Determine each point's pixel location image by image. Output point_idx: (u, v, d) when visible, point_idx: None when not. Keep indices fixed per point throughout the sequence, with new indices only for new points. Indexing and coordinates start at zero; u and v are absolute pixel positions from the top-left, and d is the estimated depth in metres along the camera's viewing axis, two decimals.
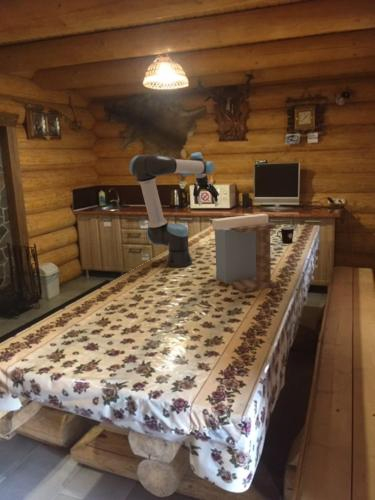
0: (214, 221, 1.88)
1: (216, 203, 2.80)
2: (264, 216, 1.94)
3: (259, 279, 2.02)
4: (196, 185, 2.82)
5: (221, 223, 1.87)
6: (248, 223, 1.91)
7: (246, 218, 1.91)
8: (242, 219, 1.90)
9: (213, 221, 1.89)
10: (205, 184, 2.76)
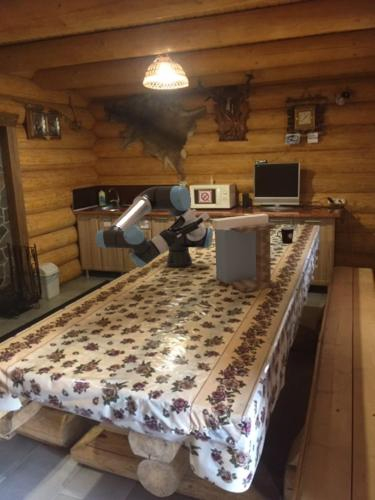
0: (214, 221, 1.88)
1: None
2: (264, 216, 1.94)
3: (259, 279, 2.02)
4: (178, 232, 1.77)
5: (221, 223, 1.87)
6: (248, 223, 1.91)
7: (246, 218, 1.91)
8: (242, 219, 1.90)
9: (213, 221, 1.89)
10: (170, 230, 1.85)
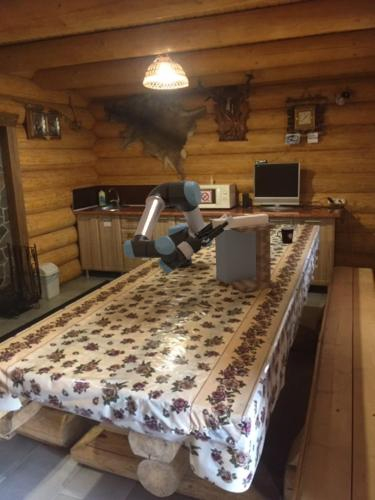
0: (214, 221, 1.88)
1: None
2: (264, 216, 1.94)
3: (259, 279, 2.02)
4: (205, 238, 1.83)
5: None
6: (248, 223, 1.91)
7: (246, 218, 1.91)
8: (242, 219, 1.90)
9: (213, 221, 1.89)
10: (195, 237, 1.90)
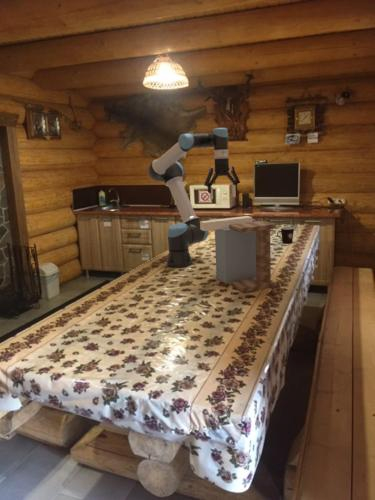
0: (201, 223, 2.03)
1: (210, 195, 2.26)
2: (248, 218, 2.08)
3: (259, 279, 2.02)
4: (230, 169, 2.28)
5: (208, 224, 2.01)
6: None
7: (231, 220, 2.05)
8: (228, 221, 2.04)
9: (201, 223, 2.04)
10: None
